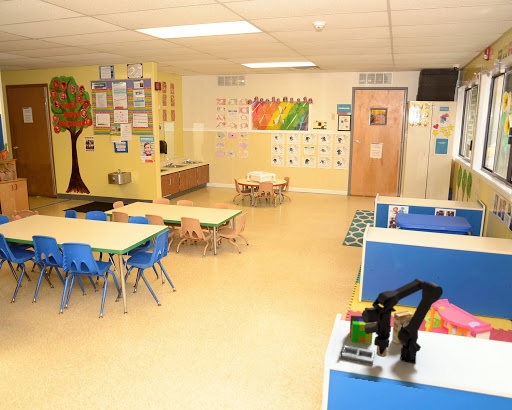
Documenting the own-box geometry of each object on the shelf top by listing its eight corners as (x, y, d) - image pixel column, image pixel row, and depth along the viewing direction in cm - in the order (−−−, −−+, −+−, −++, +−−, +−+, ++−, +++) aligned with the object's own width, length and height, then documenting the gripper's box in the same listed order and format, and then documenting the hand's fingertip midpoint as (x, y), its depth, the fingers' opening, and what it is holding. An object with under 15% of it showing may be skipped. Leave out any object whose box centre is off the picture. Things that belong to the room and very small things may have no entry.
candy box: (397, 344, 217) (399, 316, 214) (391, 340, 221) (393, 312, 218) (410, 341, 220) (413, 313, 218) (405, 337, 224) (407, 310, 221)
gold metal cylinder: (386, 353, 200) (387, 341, 199) (385, 357, 196) (386, 345, 195) (376, 351, 201) (377, 339, 200) (375, 355, 197) (376, 343, 196)
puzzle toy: (368, 334, 227) (370, 316, 225) (371, 343, 218) (373, 325, 216) (349, 332, 228) (350, 315, 226) (351, 342, 219) (353, 324, 217)
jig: (374, 354, 207) (375, 347, 206) (372, 364, 198) (373, 357, 197) (343, 348, 212) (344, 341, 212) (340, 358, 203) (340, 350, 202)
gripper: (368, 309, 207) (366, 339, 210) (363, 325, 190) (361, 358, 192) (392, 313, 203) (389, 343, 206) (389, 330, 186) (387, 363, 189)
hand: (381, 351), depth 198 cm, fingers closed on gold metal cylinder, 4 cm apart
